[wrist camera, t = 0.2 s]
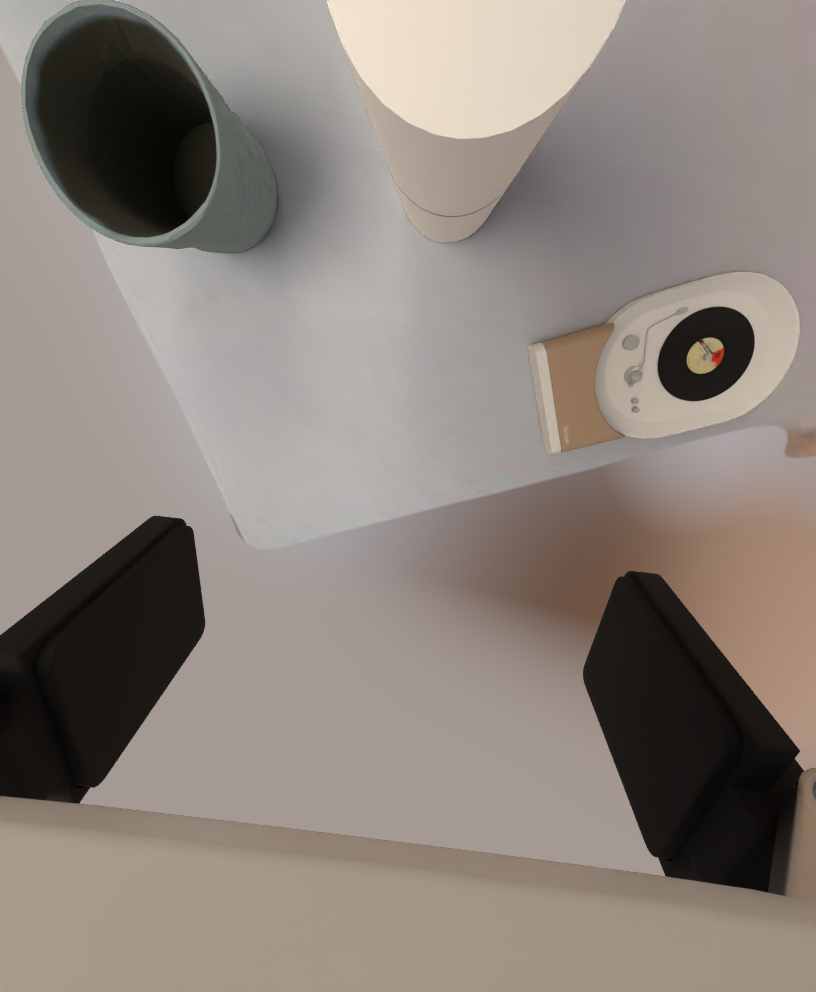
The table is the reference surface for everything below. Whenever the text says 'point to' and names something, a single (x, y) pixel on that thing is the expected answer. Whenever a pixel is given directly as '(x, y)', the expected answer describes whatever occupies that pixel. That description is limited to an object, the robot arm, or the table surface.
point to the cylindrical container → (465, 92)
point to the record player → (667, 362)
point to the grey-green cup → (141, 134)
